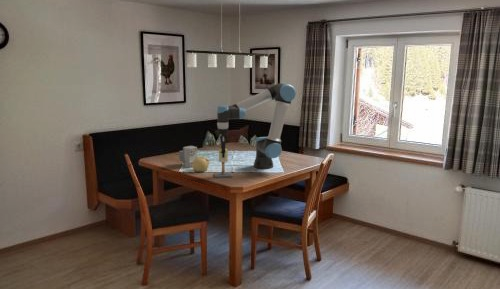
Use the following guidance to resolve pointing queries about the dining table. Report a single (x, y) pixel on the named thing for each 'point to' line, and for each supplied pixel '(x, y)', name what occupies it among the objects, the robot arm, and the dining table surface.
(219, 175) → the grey plate with rod
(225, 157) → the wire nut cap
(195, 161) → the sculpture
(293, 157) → the dining table surface
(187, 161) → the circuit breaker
